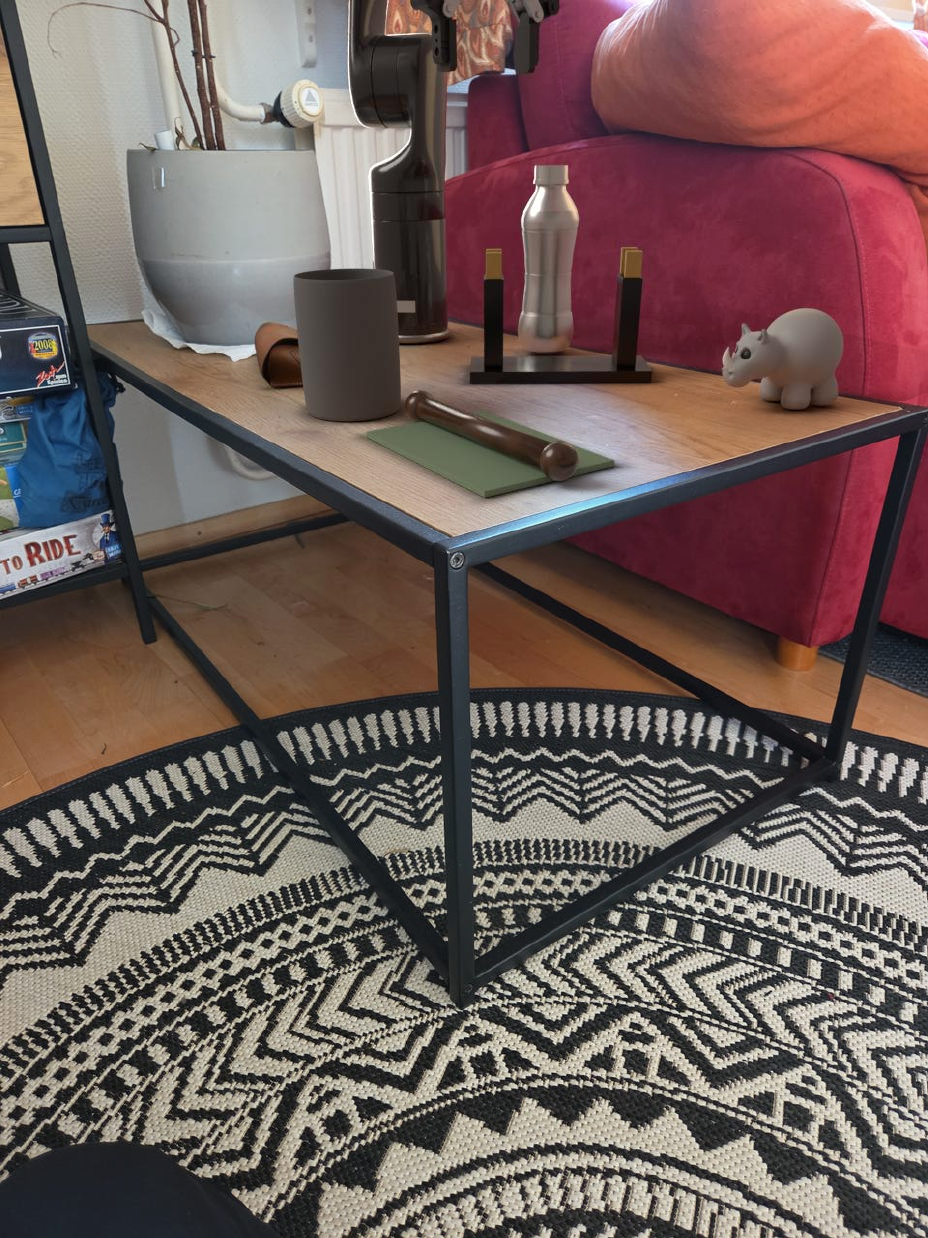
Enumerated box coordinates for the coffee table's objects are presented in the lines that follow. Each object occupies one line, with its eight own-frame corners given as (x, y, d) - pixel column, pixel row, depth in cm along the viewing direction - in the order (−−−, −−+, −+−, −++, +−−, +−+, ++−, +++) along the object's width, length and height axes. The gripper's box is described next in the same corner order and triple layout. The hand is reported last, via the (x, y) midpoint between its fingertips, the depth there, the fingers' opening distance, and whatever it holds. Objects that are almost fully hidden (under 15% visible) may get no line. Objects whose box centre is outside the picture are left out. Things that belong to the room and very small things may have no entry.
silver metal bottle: (508, 350, 105) (510, 165, 95) (557, 345, 107) (564, 164, 97) (532, 360, 99) (537, 165, 90) (583, 355, 102) (593, 164, 92)
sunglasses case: (344, 377, 90) (306, 322, 87) (290, 416, 91) (250, 363, 87) (324, 346, 106) (291, 298, 102) (278, 379, 106) (243, 333, 102)
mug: (410, 417, 78) (404, 277, 72) (310, 426, 76) (295, 282, 70) (385, 384, 90) (378, 261, 84) (297, 391, 88) (284, 265, 82)
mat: (366, 437, 73) (365, 431, 73) (482, 415, 79) (482, 409, 78) (484, 498, 60) (484, 491, 59) (614, 466, 65) (614, 460, 65)
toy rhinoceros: (694, 402, 82) (704, 308, 78) (800, 391, 85) (815, 300, 81) (737, 421, 76) (751, 321, 72) (849, 408, 79) (869, 311, 75)
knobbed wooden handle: (555, 488, 60) (556, 450, 59) (400, 421, 77) (397, 390, 75) (586, 480, 61) (587, 442, 60) (426, 416, 78) (425, 385, 77)
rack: (471, 366, 97) (470, 247, 91) (640, 366, 96) (650, 245, 90) (469, 383, 90) (468, 254, 84) (651, 382, 89) (663, 252, 83)
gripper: (435, -193, 63) (442, 68, 71) (584, -164, 70) (575, 71, 78) (387, -165, 69) (398, 74, 77) (528, -141, 75) (525, 76, 83)
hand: (487, 72), depth 77 cm, fingers open, 8 cm apart
